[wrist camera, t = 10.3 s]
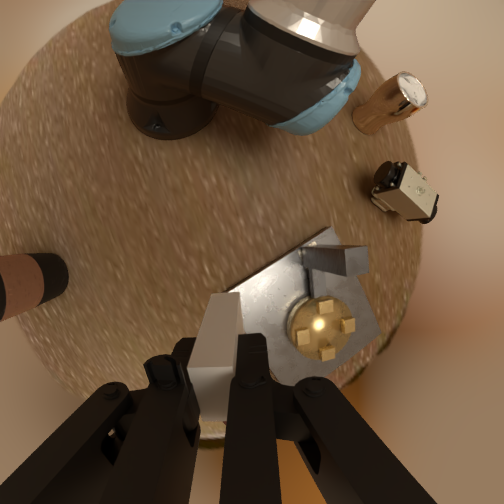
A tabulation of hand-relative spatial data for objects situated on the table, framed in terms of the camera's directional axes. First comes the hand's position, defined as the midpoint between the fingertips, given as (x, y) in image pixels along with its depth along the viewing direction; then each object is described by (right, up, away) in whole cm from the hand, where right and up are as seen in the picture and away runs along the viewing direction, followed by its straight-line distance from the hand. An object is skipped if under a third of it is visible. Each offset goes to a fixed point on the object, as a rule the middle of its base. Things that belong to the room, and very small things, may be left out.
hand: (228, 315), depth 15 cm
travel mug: (-31, 0, +22) cm, 38 cm away
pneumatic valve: (+25, +13, +32) cm, 43 cm away
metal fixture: (+11, -4, +27) cm, 30 cm away
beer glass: (+23, +28, +31) cm, 48 cm away
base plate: (+11, -7, +30) cm, 32 cm away
